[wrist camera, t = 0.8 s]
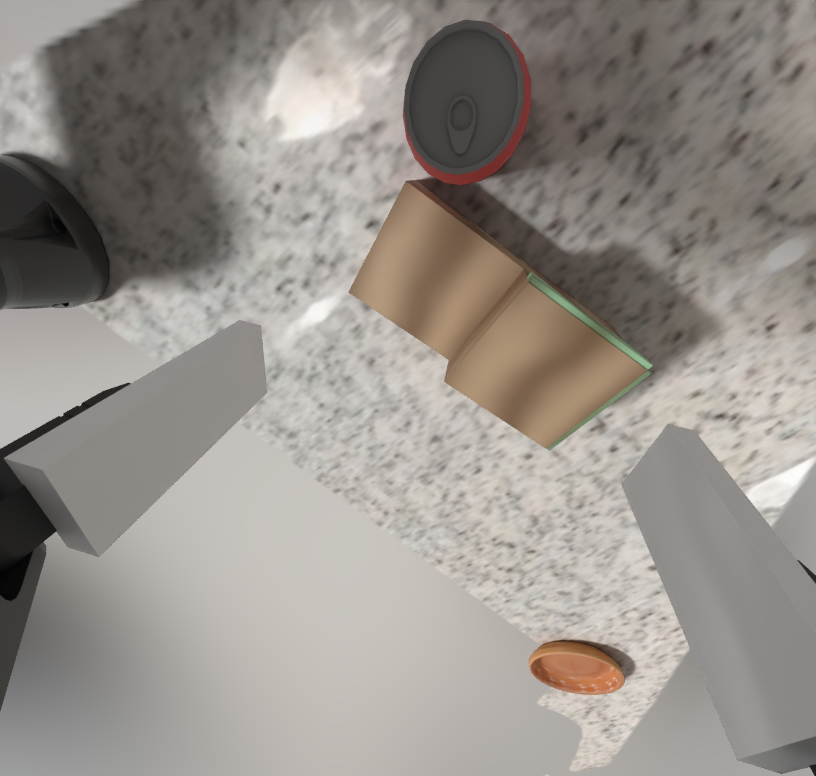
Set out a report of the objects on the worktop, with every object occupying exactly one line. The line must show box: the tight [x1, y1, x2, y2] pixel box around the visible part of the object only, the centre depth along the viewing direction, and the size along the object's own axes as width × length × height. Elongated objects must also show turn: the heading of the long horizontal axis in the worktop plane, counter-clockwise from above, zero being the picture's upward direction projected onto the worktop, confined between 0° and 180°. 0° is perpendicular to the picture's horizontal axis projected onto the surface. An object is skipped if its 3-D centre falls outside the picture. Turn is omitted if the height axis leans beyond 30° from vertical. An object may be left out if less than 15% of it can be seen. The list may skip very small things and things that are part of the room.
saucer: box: [529, 641, 625, 695], centre depth 63 cm, size 16×16×3 cm
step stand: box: [349, 180, 653, 450], centre depth 29 cm, size 22×10×8 cm, turn 58°
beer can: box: [403, 20, 531, 185], centre depth 21 cm, size 7×7×12 cm
